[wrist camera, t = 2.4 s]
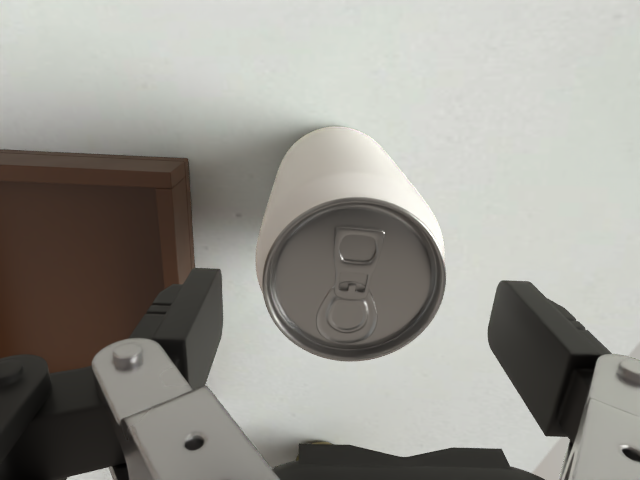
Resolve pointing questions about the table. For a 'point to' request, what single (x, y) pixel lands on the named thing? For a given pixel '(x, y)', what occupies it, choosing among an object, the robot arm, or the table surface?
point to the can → (348, 249)
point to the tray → (87, 249)
